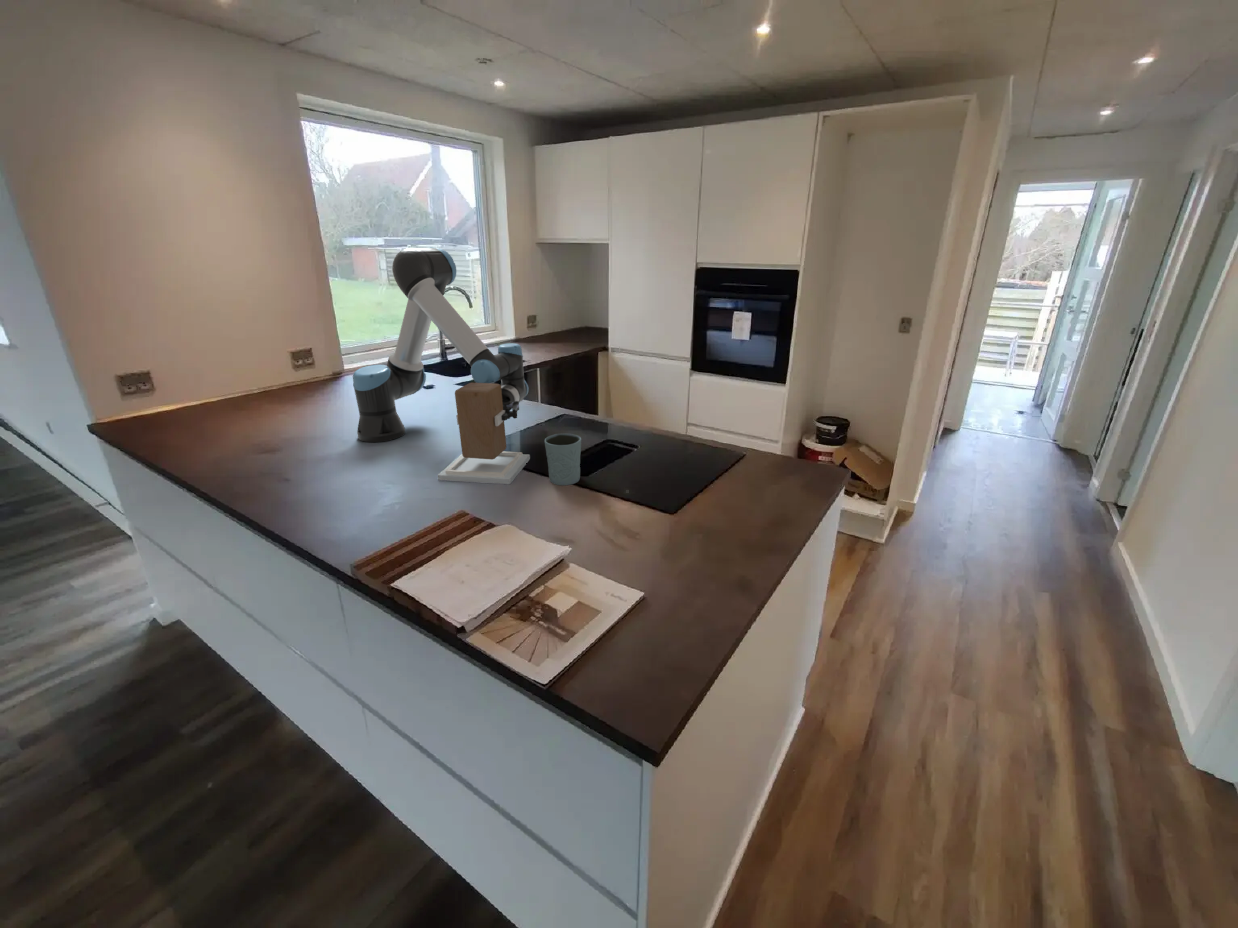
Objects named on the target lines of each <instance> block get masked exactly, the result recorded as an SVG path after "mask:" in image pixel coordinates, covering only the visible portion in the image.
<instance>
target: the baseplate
mask: <svg viewBox="0 0 1238 928" xmlns="http://www.w3.org/2000/svg"><path fill="white" fill-rule="evenodd" d="M530 460H531V454H523V452H522V451H521V452H520V451H505V450H504V451H503V452H502V453H501V454H499V455H498V456H497V457H496V458H495V459H493V460H491V459H478V458H465V457H463V455H462V453H461V454H460V455H459V456H458V457H456V458H455V459H454V460H453V461H452V462H451V463H450V464H448V465H447V466H446V467H445V468H444V469H442V471H441V472H439V473H438V474H437V480H438V481H446V482H447V481H448V482H449V481H450V482H463V483H466V482H467V483H481V484H495V485H497V484H499V485H511V484H512V483H513V481H514V480H515V479H516V477H517V476H518V475H520V472H521V471H522V470H523V469H524V467H525V466H526V465H527V464H526V463H528V462H529V461H530Z"/></svg>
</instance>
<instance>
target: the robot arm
mask: <svg viewBox="0 0 1238 928" xmlns="http://www.w3.org/2000/svg"><path fill="white" fill-rule="evenodd" d="M392 276H393V278H394V280H395V282H396V284H397V286H398V288H399V289H400V291H401V292H402V293H403V295H405V297H406V298H407V302H406V307H405V310H404V315H403V319H402V323H401V326H400V331H399V335H398V337H397V338H398V339H397V342H396V346H395V350H394V352H393V353H390V354H389V356H388V358H387V363H386V364H371V365H367V366H363V367H359V369H358V368H357V370H355V371H354V372H353V374H352V383H353V384H352V387H353V389H354V394H355V399H356V404H357V408H358V414H359V417H358V419H359V420H358V424H357V430H356V433H357V434H356V435H357V437H358V440H359V441H361V442H365V443H381V442H388V441H389V442H390V441H393V440H396V439H398V438H401V437H403V436H404V435H405V434H406V430H405V425H404V424H403V421H402V420H401V418H400V416H399V415H398V411H397V408H396V401H397V400H399V399H403V398H405V397H408V396H411V395H414V394H416V393H417V392H419V391H421V390H422V388H424V386H425V384H426V381H427V380H426V379H427V374H426V373H425V368H424V363H423V362H422V359H421V358H422V356H423V351H424V348H425V344H426V341H427V338H428V334H429V330H430V327H431V324H432V323H433V324H434V325H435V326H436V327H437V329H438V330H439V331H440V332H441V333H442V335H443V336H444V337H445V338H446V340H448V341H449V343H451V345H452V347H454V348H455V350H456V351H457V352H458V353H459V354H460V355H461V356H462V358H463V359H464V360H465V361H466V363H468V364H469V366H470V367H471V368H470V374H471V378H472V380H473V381H474V383H494V384H496V383H497V382H498V381H501V383H500V385H501V392H502V403H503V410H502V411H501V412H500V413H498V414H497V415H496V416H495V426H499V425H500V424H501V423H502V422H503V421H504V422H505V421H507V420H510V419H511V418H513V419H518V411H519V410H520V403H521V402H523V400H525V398H526V397H527V395H528V393H529V390H530V389H529V384H528V383H527V381H526V380H525V374H524V358H523V357H524V355H523V352H522V346H521V345H520V344H519V343H512V342H511V343H502V344H499V346H498V347H497V348H498V349H497V350H498V351H497V354H494V353H493V352H491V350H490V349H489V348H488V347H487V346H486V344H485V343H484V342H483V341H482V340H481V339H480V337H479V336H478V334H476V333H475V331H474V330H473V329H472V328H471V326H469V324H468V323H467V322H466V320H465V319H463V317H462V316H461V315H460V313H458V311H457V310H456V309H455V308H454V307H453V305H452V304H451V303H450V302H449V301H448V300H447V299H446V298H445V296H444V295H445V291H446V288H447V286H450V285H451V284H452V283H454V281H455V280H456V277H457V266H456V263H455V261H454V258H453V257H452V256H451V254H450V253H449V252H448V251H446V250H444V249H442V248H440V247H433V246H430V247H407V248H404V249H402V250H400V251H399V252H398V253H397V254H396V255H395V257H394V259H393V262H392ZM456 423H457V425H458V426H459V423H458V415H456Z"/></svg>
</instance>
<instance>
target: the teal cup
mask: <svg viewBox="0 0 1238 928" xmlns="http://www.w3.org/2000/svg"><path fill="white" fill-rule="evenodd" d="M544 448H545V453H546V458H547V459H546V461H547V467H548V477H549V482H550V483H551V484H554V485H557V486H571V485H574V484H576V483H579V481H580V479H581V467H580V466H581V465H580V464H581V453H582V452H581V450H582V437H581V436H580V435H577V434H573V433H555V434H552V435H549V436H547V437H546V438H544Z"/></svg>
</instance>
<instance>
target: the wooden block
mask: <svg viewBox="0 0 1238 928" xmlns="http://www.w3.org/2000/svg"><path fill="white" fill-rule="evenodd" d="M501 386H502V384H501V383H500V384H499V383H476V382H469V383H467V384H465V385H463V386H461V387H459V388H458V389H456V390H455V391H454V398H455V405H456V407H455V408H456V414H457V415H458V423H459V425H458V429H459V430H458V431H459V438H460V439H459V440H460V446H461V452H462V453H461V454H462V455H463V457H465V458H478V459H491V460H493V459H495V458H496V457H497V456H498V455H499V454H501V453H502V452H503V451H505V450H506V449H507V438H506V436H507V435H506V428H505V421H503V422H502V423H501V424H500V425H499V426H495V416H496V415H497V414H498V413H500V412H501V411H502V410H503V403H502V392H501Z"/></svg>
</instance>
